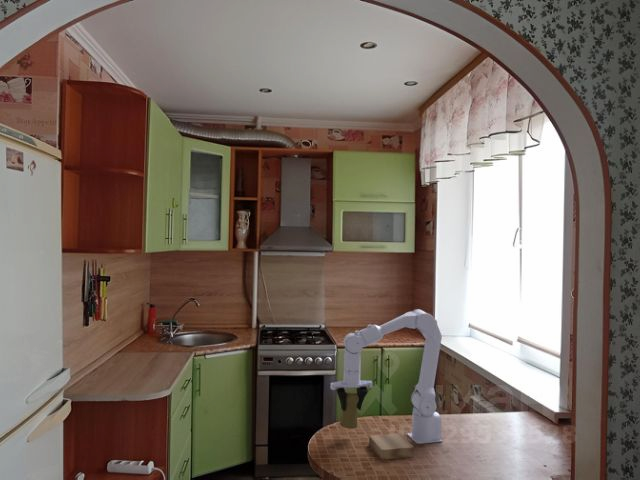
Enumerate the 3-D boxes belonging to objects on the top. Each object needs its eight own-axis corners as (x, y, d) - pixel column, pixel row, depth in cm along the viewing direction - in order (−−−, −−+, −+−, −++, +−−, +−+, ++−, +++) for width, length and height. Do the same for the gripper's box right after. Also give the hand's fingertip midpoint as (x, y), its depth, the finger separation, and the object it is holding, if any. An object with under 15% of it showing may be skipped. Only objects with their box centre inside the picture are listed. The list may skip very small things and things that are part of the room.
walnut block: (399, 442, 163) (399, 433, 163) (413, 456, 152) (414, 447, 152) (369, 444, 160) (369, 435, 160) (381, 459, 149) (381, 450, 149)
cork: (356, 430, 160) (359, 397, 160) (338, 426, 161) (341, 394, 161) (358, 423, 166) (361, 391, 165) (341, 419, 167) (344, 388, 167)
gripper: (368, 365, 169) (367, 404, 169) (328, 367, 165) (327, 406, 165) (375, 371, 162) (374, 411, 162) (334, 373, 158) (333, 414, 159)
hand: (351, 409), depth 163 cm, fingers closed on cork, 5 cm apart
